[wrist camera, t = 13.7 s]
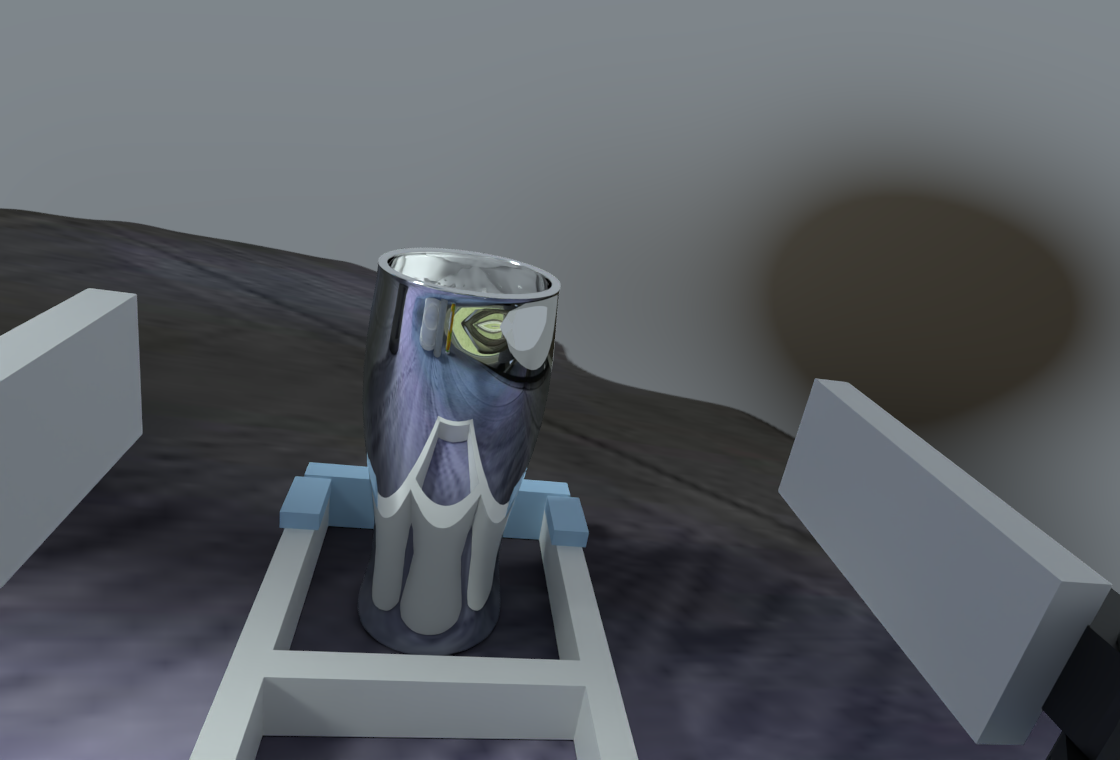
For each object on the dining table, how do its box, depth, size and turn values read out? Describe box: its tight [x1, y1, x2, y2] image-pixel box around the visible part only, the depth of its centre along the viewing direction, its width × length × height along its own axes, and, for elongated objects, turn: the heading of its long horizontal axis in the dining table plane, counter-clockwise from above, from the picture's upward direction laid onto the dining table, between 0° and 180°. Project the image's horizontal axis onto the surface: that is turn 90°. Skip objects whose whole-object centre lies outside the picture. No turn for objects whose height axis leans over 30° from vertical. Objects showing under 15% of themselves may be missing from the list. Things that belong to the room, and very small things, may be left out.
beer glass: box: [358, 248, 561, 656], centre depth 28 cm, size 7×7×15 cm
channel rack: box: [189, 497, 638, 760], centre depth 24 cm, size 26×13×2 cm, turn 7°
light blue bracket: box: [279, 462, 589, 547], centre depth 34 cm, size 5×13×3 cm, turn 97°
